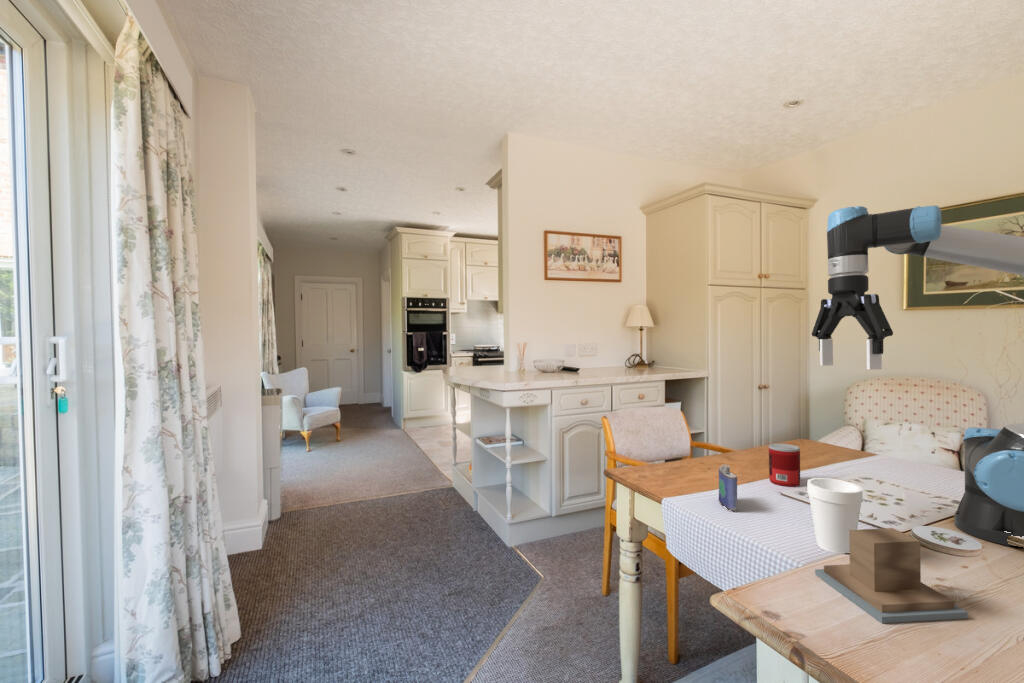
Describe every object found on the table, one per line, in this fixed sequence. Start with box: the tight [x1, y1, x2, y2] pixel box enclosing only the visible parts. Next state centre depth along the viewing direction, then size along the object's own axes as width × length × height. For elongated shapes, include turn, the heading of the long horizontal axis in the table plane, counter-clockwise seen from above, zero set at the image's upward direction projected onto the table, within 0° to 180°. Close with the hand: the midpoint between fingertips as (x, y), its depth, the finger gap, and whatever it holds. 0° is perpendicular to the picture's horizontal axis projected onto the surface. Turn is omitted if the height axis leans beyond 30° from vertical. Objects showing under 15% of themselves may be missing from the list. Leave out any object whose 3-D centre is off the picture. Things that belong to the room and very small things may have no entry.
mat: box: [814, 568, 969, 624], centre depth 76 cm, size 14×14×1 cm
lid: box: [823, 527, 955, 613], centre depth 76 cm, size 12×12×9 cm
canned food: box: [768, 443, 801, 488], centre depth 133 cm, size 8×8×11 cm
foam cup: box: [806, 477, 864, 555], centre depth 93 cm, size 10×9×13 cm
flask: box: [718, 464, 739, 512], centre depth 116 cm, size 9×3×11 cm, turn 172°
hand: (848, 367), depth 103 cm, fingers open, 13 cm apart
